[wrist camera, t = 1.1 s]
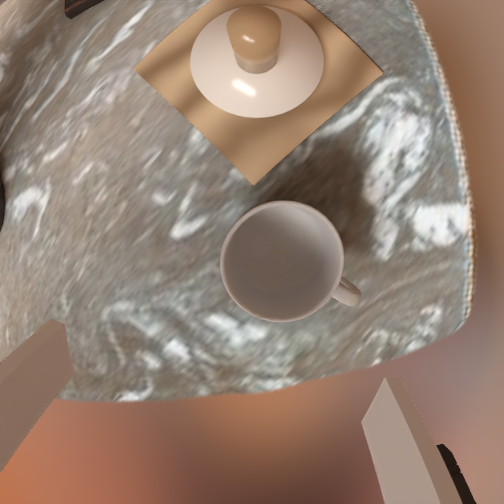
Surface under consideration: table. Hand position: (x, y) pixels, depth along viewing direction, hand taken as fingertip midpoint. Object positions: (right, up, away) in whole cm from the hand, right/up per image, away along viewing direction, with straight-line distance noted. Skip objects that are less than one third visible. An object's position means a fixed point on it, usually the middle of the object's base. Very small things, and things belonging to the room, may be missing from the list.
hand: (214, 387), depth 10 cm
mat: (+2, +26, +17) cm, 31 cm away
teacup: (+6, +5, +23) cm, 24 cm away
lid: (+2, +26, +16) cm, 30 cm away
